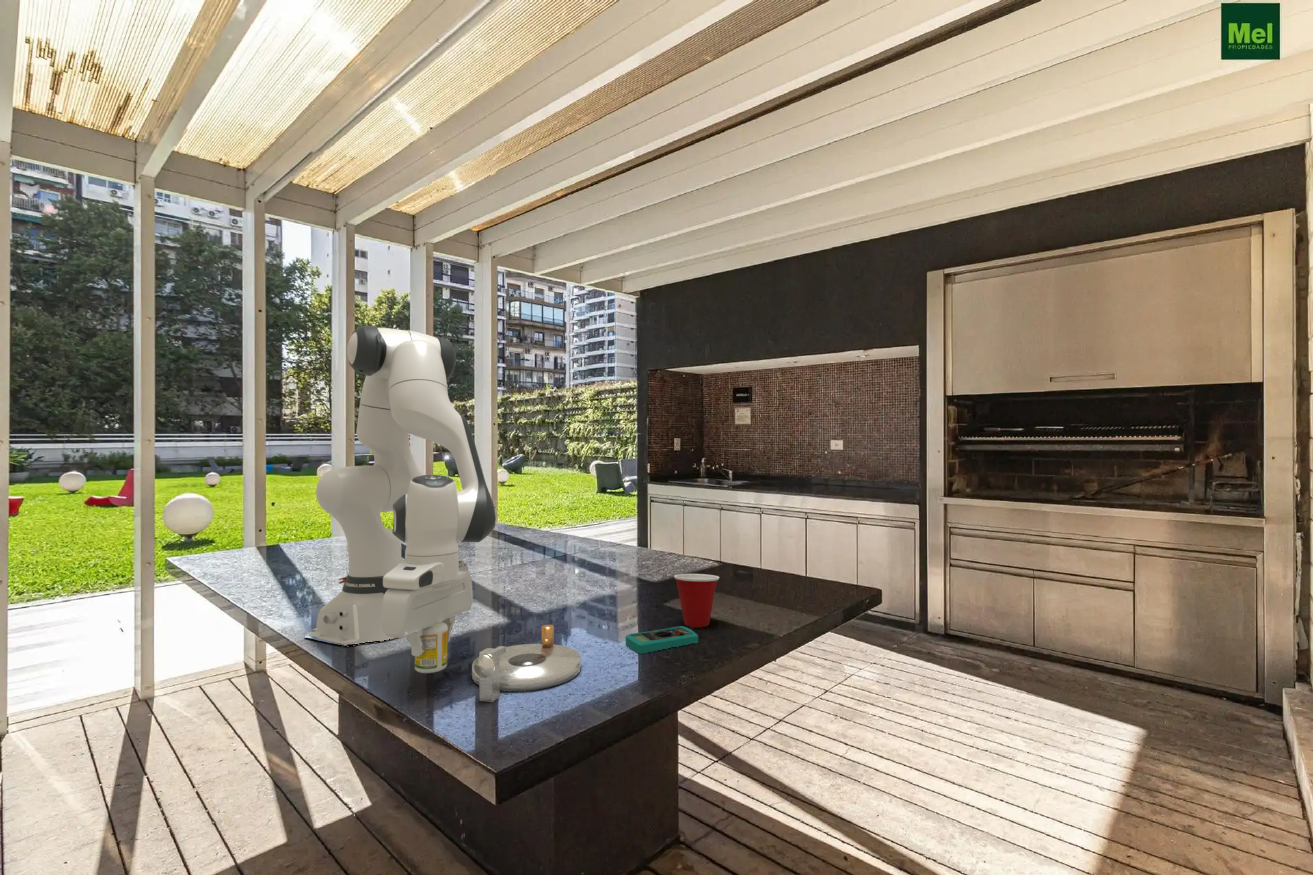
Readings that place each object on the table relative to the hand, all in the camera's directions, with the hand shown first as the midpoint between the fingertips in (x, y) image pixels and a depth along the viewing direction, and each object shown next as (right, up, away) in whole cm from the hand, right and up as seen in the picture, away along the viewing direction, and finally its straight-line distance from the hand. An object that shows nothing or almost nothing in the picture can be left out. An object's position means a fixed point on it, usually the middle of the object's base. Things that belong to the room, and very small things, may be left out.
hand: (431, 648), depth 106 cm
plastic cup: (+49, -8, +40) cm, 63 cm away
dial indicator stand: (+11, -7, -2) cm, 14 cm away
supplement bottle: (0, -4, 0) cm, 4 cm away
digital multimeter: (+40, -8, +25) cm, 48 cm away
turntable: (+15, -8, +9) cm, 19 cm away
